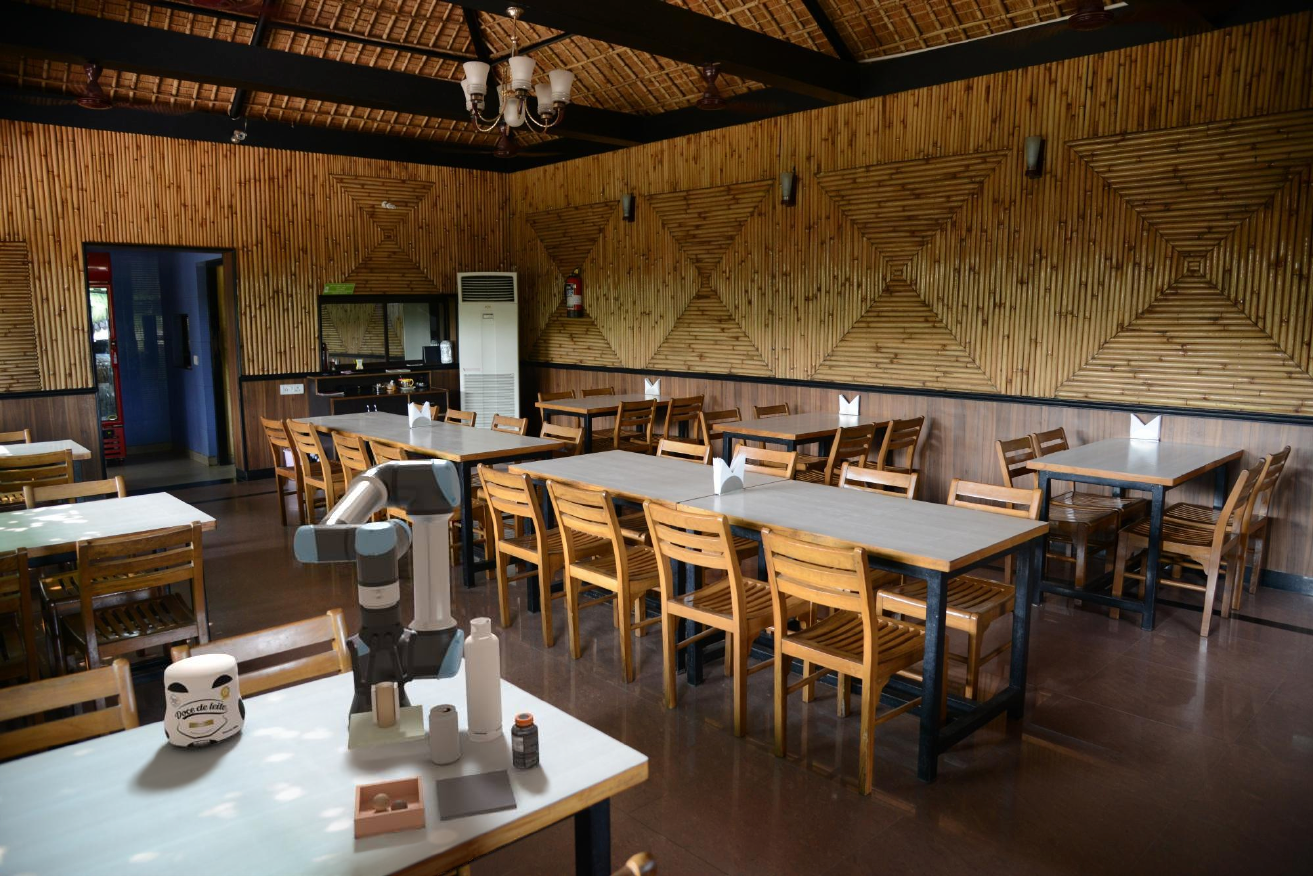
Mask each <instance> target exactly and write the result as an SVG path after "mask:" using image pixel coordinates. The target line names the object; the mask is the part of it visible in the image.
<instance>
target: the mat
mask: <svg viewBox="0 0 1313 876" xmlns="http://www.w3.org/2000/svg"><path fill="white" fill-rule="evenodd" d="M435 781H436V790H437V791H436V792H437V798H438V799H437V800H438V807H439V809H438V810H439V817H440V821H444V820H448V819H449V820H450V819H454V818H461V817H468V816H472V815H478V814H484V813H491V812H496V811H501V810H502V811H503V810H508V809H513V808H517V806H518V805H517V801H516V797H515V795H514V794H515V793H514V790H513V787H512V783H511V780H510V776H509V773H508V769H500V770H493V771H488V772H487V771H486V772H480V773H474V774H466V775H462V776H455V777H450V778H444V779H437V780H435Z"/></svg>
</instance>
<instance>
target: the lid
mask: <svg viewBox="0 0 1313 876" xmlns="http://www.w3.org/2000/svg"><path fill="white" fill-rule="evenodd" d="M375 692H376V708H377V722H373V712H364V713H357V714H351V719H350V726H349V731H348V740H347V741H348V742H347V749H348V750H353V749H354V750H355V749H360V748H367V747H375V746H376V747H377V746H380V745H381V746H382V745H389V744H396V743H402V742H403V743H404V742H411V741H417V740H423V739H424V740H425V738H426V732H425V722H424V709H423V704H417V705H411V706H409V707H402V708H399V709H400V719H396V712H395V695H394V683H392V682H382V683H379V684H377V685H376V686H375Z"/></svg>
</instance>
